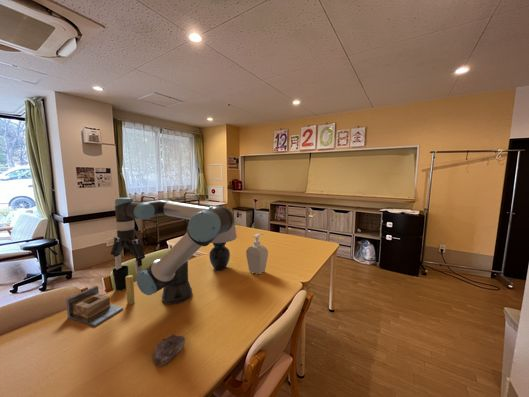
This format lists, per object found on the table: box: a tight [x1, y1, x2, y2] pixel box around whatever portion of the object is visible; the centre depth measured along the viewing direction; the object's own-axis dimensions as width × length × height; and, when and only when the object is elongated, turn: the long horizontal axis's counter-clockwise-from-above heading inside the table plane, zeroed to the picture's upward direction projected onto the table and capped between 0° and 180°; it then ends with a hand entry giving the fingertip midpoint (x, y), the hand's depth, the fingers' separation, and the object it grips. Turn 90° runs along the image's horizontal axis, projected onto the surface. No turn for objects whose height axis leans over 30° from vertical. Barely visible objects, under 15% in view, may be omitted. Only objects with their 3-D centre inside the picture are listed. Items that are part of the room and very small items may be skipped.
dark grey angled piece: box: [65, 285, 124, 328], centre depth 103 cm, size 18×13×9 cm
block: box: [73, 293, 111, 319], centre depth 104 cm, size 10×10×5 cm
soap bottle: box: [245, 233, 269, 275], centre depth 148 cm, size 12×10×26 cm
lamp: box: [208, 210, 238, 272], centre depth 152 cm, size 24×24×40 cm
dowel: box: [125, 274, 136, 305], centre depth 112 cm, size 3×3×14 cm
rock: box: [152, 333, 186, 368], centre depth 81 cm, size 8×11×5 cm
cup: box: [111, 265, 129, 291], centre depth 126 cm, size 8×8×12 cm
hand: (128, 270), depth 111 cm, fingers open, 13 cm apart
